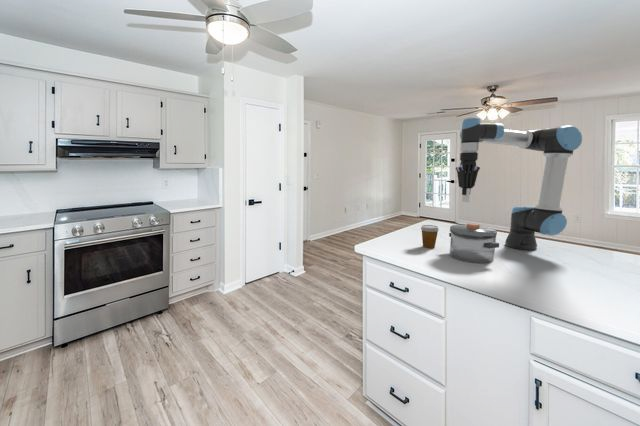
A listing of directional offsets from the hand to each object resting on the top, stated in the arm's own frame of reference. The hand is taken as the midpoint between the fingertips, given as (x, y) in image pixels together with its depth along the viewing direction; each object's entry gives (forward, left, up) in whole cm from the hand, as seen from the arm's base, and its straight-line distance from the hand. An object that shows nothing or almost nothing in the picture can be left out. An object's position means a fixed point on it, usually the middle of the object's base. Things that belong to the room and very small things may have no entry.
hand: (465, 201), depth 146 cm
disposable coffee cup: (+2, -22, -29) cm, 36 cm away
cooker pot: (-6, 0, -29) cm, 29 cm away
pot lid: (-6, 0, -16) cm, 17 cm away
